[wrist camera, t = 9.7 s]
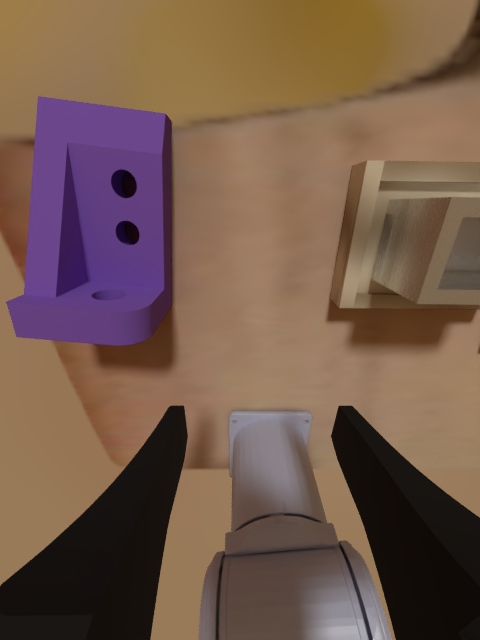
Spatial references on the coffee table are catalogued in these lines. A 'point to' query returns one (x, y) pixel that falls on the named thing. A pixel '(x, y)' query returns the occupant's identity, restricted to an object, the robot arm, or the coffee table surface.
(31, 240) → the bracket
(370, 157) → the coffee table surface
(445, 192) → the beige shallow tray
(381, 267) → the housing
